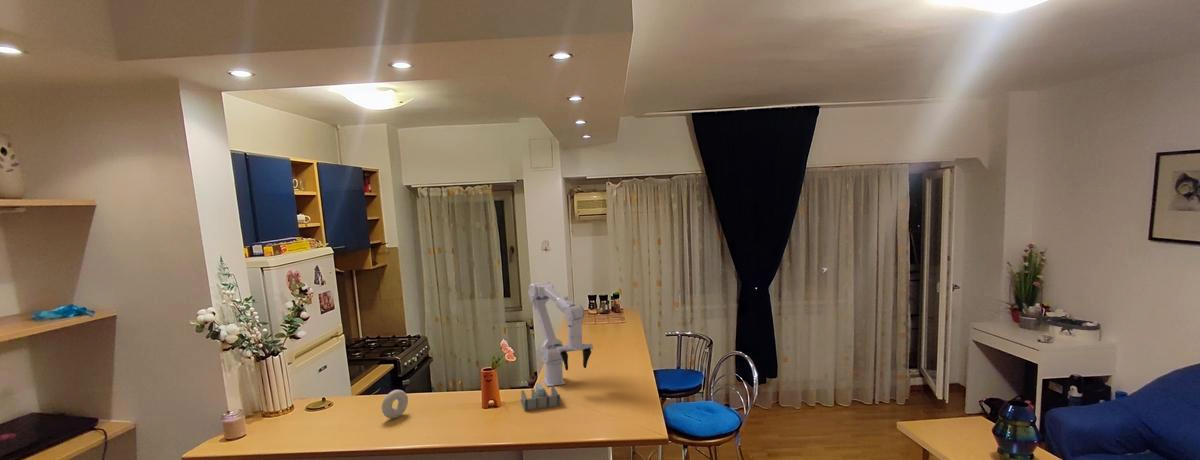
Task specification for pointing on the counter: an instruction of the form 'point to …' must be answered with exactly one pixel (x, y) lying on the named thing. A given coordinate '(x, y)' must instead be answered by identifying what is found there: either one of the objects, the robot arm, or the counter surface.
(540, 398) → the rack
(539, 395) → the plate
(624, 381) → the counter surface
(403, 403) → the donut
